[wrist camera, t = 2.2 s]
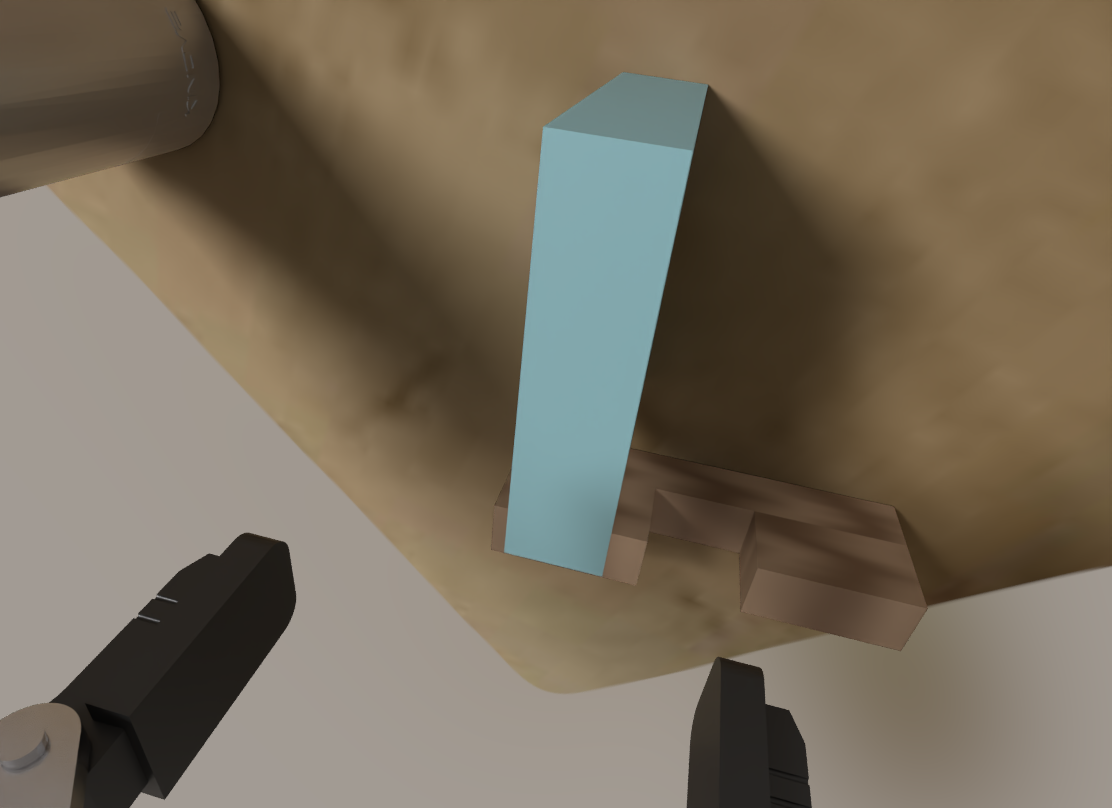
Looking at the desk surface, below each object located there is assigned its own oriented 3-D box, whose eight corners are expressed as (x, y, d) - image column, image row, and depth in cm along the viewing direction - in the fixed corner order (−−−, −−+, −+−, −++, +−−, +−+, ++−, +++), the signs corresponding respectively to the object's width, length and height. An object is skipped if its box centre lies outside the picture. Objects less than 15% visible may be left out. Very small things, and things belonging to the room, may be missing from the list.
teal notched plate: (644, 379, 34) (602, 576, 22) (579, 366, 34) (504, 552, 23) (708, 84, 26) (693, 150, 15) (623, 72, 27) (543, 126, 15)
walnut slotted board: (526, 467, 39) (491, 549, 33) (530, 426, 37) (494, 505, 31) (872, 547, 36) (900, 651, 30) (894, 506, 35) (927, 608, 29)
